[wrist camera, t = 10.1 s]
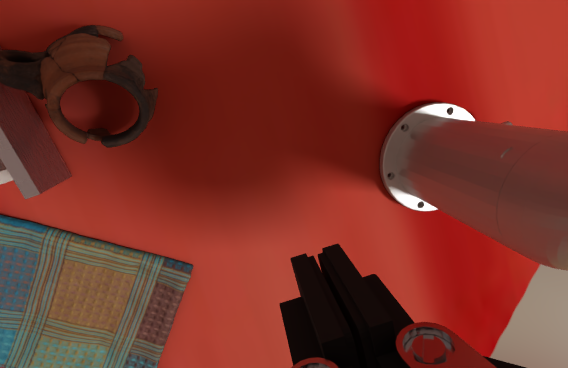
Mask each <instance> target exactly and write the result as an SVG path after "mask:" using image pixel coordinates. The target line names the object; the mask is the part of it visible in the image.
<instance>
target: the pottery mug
mask: <svg viewBox="0 0 568 368" xmlns="http://www.w3.org/2000/svg"><path fill="white" fill-rule="evenodd" d="M98 34H100V35H104V36H108V37H111V38H113V39H116V40H118V41H122V40H123V35H122V33H121V32H120V31H118V30H115V29H113V28H110V27H105V26H95V25H90V26H84V27H81V28H78V29H76V30H74V31H73V32H71V33H70V34H68V35H66V36H64V37H62V38H60V39H58V40H56V41H55V42H53V43H52V44H51V45H49V47H48V48H47V50H46V51H44V52H39V53H30V52H25V51H17V50H0V83H2V84H4V85H6V86H8V87H11V88H14V89H18V90H24V91H27V92H30V93H32V94H33V95H34V96H36V97H37V98H38V99H40V100H42V99H44V98H45V99H47V104H45V106H46V108H47V109H48V113H49V115H50V118H51V119H52V121H53V122H54V124H55V125H56V127H57V128H58V129H59V130H60V131H61V132H63V133H64V134H65V135H66V136H68V137H69V138H71V139H73V140H75V141H77V142H80V143H83V144H85V143H86V142H87V138H89V139H92V140H96V141H101V143H102V144H103V145H104V146H106V147H116V146H120V145H123V144H126V143H129V142H131V141H133V140H134V139H135V138H137V137H138V136H139V135H140V133H141V132H143V131H144V129H145V128H146V126H147V124H148V122H149V121H150V120H151V119H152V116H153V114H154V110H155V104H156V99H157V96H158V88H154V89H152V90H151V89H149V90H146V89H144V85H145V76H144V73H143V71H142V64H141V62H140V61H139V60H138V59H137V58H136V57H135V56H133V55H129V56H128V58H127V60H126V61H121V62H119V63H117V64H114V65H110V66H107V60H108V54H109V51H110V49H111V45H110V44H109V42H108V41H107V40H106V39H103V38H98ZM86 80H107V81H109V82H113V83H115V84H118V85H120V86H122V87H123V88H125V89H126V90H127V91H129V92H130V93H131V94H132V95H133V96H134V98H135V99H136V100H137V102H138V105H139V110H140V112H139V117H138V120H137V121H136V123H135V124H134V125H133V126H132V127H131V128H129V129H128V130H126V131H124V132H122V133H119V134H115V135H111V134H110V132H109V131H108V130H107V129H103V128H95V129H89V130H88V131H87V132H85V131H82V130H80V129H78V128H76V127H75V126H73V125H72V124H71V123H70V122H69V121H68V120H67V119H66V118H65V117H64V115H63V114H62V112H61V108H60V99H61V97H62V95H63V93H64V92H65V91H66V89H68V88H69V87H70V86H72V85H74V84H76V83H78V82H80V81H86Z"/></svg>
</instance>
